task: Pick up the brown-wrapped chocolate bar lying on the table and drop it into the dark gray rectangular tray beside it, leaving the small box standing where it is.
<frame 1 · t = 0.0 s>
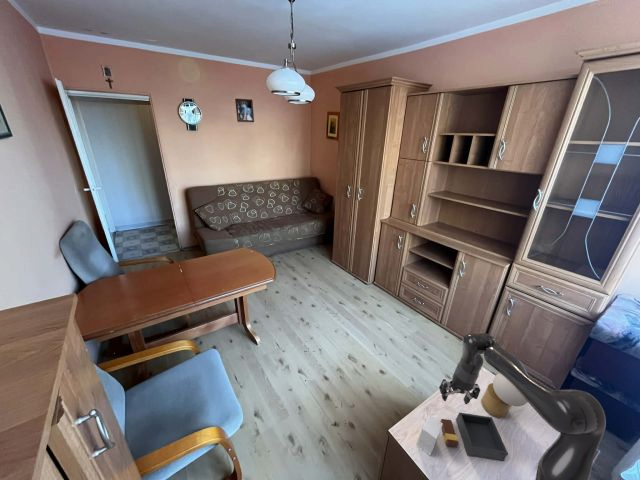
hand: (454, 400, 109), 24 cm above the table, tool pointing down, fingers open, 8 cm apart
small box: (425, 443, 116), on the table
lamp: (496, 411, 130), on the table
chocolate bar: (448, 434, 119), on the table
dark gray rectangular tray: (477, 439, 118), on the table
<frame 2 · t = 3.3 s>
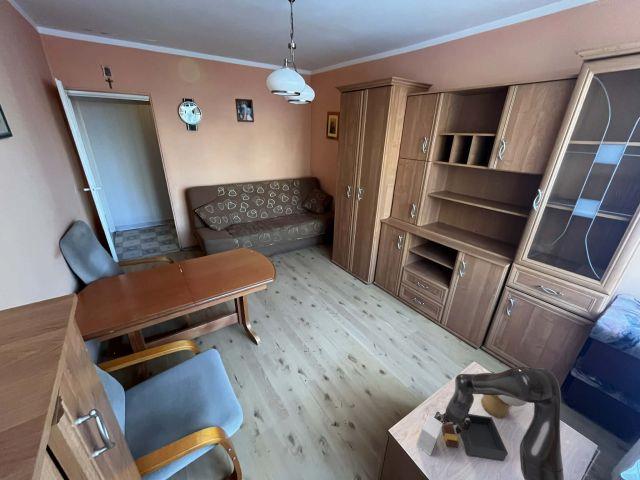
hand: (447, 430, 119), 3 cm above the table, tool pointing down, fingers open, 8 cm apart
nothing on the table moved.
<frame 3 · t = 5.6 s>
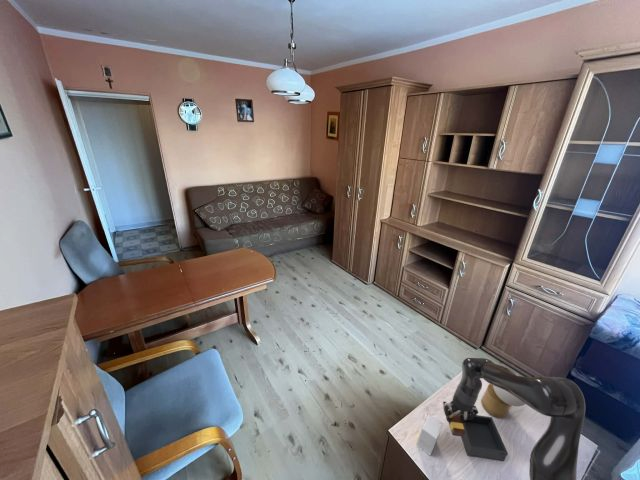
hand: (454, 421, 114), 11 cm above the table, tool pointing down, fingers closed on chocolate bar, 4 cm apart
chocolate bar: (453, 423, 115), point 9 cm above the table, touching gripper
everything else where it was.
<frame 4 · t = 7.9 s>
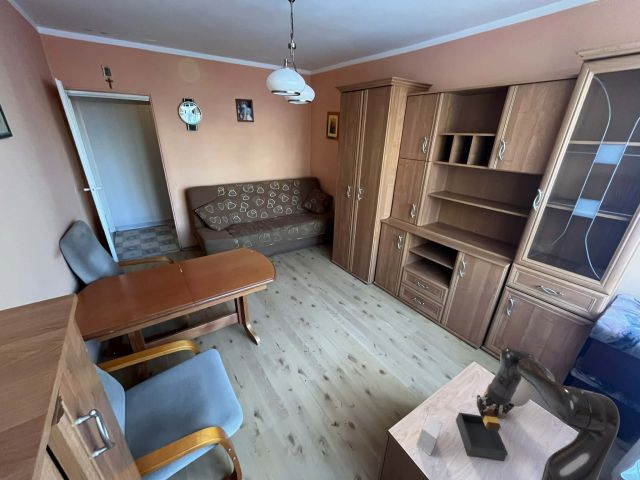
hand: (487, 415, 110), 18 cm above the table, tool pointing down, fingers closed on chocolate bar, 4 cm apart
chocolate bar: (487, 417, 111), point 16 cm above the table, touching gripper
everything else where it was.
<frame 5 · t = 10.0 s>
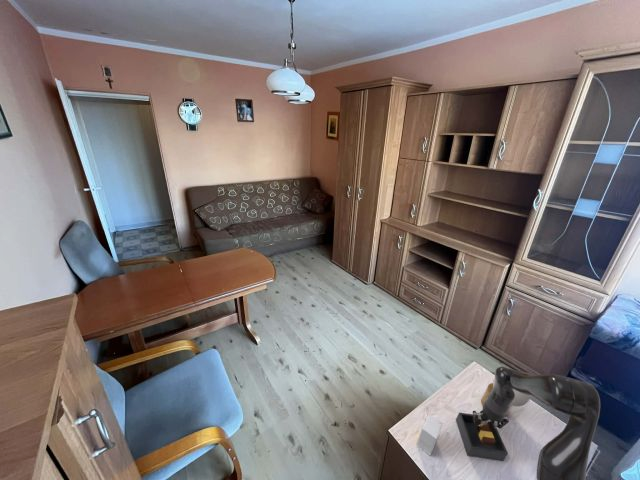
hand: (483, 429, 115), 7 cm above the table, tool pointing down, fingers closed on chocolate bar, 4 cm apart
chocolate bar: (482, 432, 115), point 6 cm above the table, touching gripper
everything else where it was.
when the fingers open (3 cm above the table, at t = 11.9 s): chocolate bar stays where it is, resting on dark gray rectangular tray.
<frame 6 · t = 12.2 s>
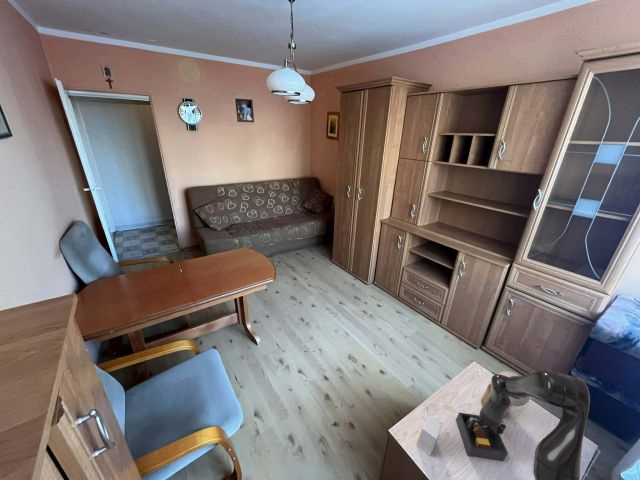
hand: (480, 434, 116), 4 cm above the table, tool pointing down, fingers open, 7 cm apart
chocolate bar: (478, 439, 117), point 1 cm above the table, touching dark gray rectangular tray
everything else where it was.
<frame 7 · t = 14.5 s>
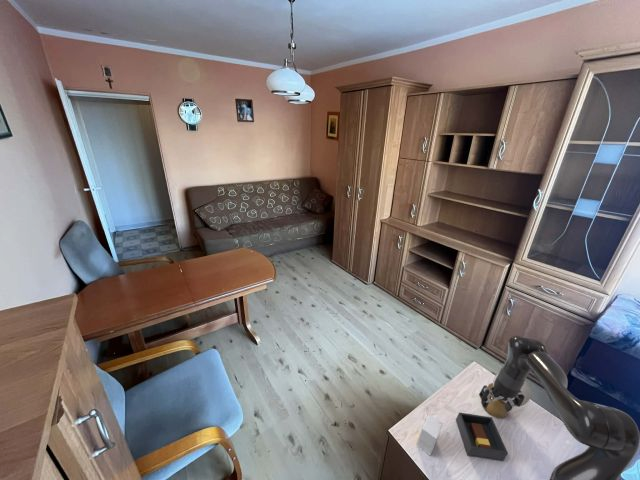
hand: (495, 407, 104), 26 cm above the table, tool pointing down, fingers open, 8 cm apart
nothing on the table moved.
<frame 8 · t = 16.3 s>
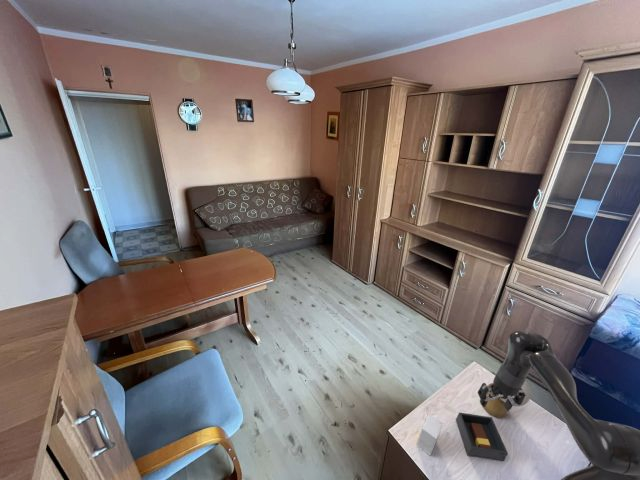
hand: (494, 406, 99), 32 cm above the table, tool pointing down, fingers open, 8 cm apart
nothing on the table moved.
at the end: chocolate bar inside the target area in the dark gray rectangular tray (0.4 cm from its centre), point 1.0 cm above the dark gray rectangular tray's base; the gripper is holding nothing; small box moved 0.2 cm from its start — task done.
